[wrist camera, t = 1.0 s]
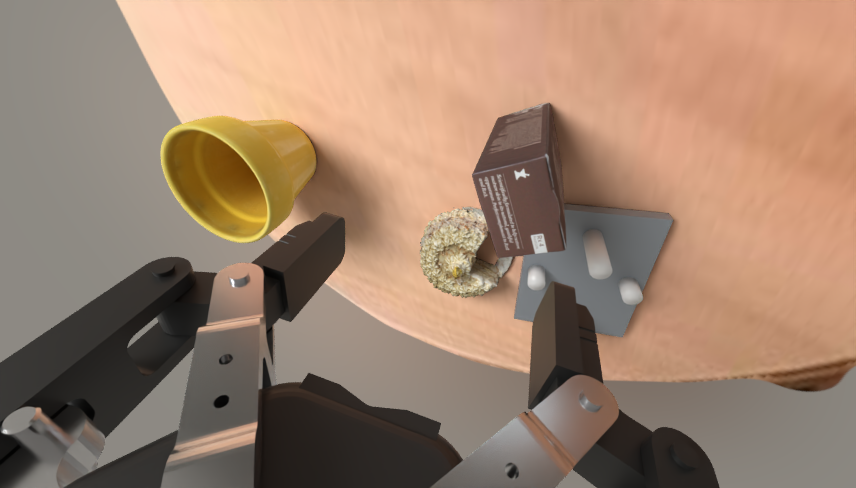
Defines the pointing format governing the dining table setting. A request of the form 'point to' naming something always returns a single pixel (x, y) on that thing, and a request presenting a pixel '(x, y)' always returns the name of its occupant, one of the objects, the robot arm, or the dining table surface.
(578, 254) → the pin tray
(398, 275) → the dining table surface
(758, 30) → the dining table surface
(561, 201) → the box
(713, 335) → the dining table surface
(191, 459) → the robot arm
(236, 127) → the plant pot
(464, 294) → the sea snail shell
